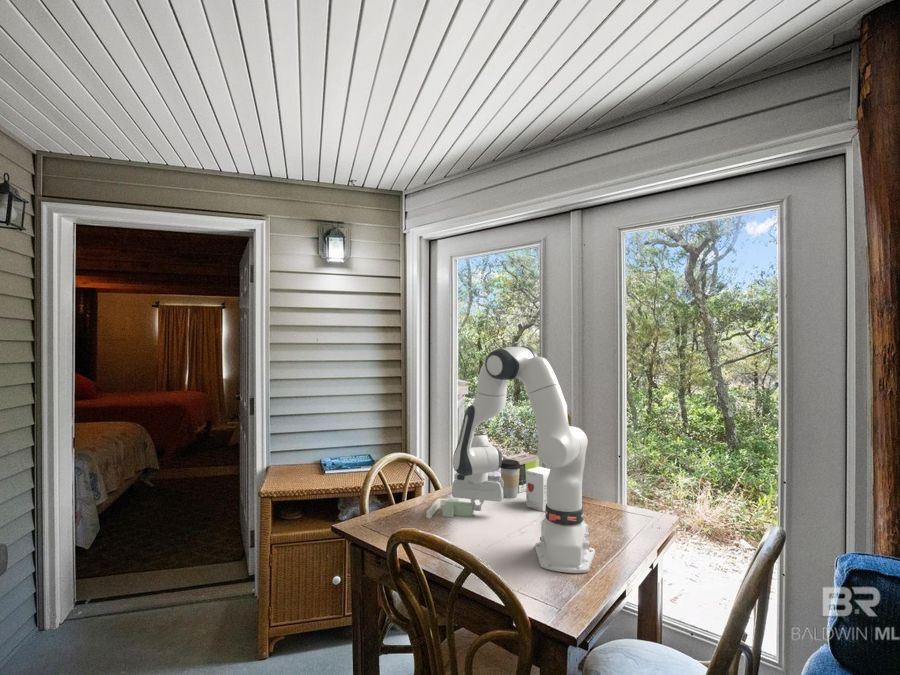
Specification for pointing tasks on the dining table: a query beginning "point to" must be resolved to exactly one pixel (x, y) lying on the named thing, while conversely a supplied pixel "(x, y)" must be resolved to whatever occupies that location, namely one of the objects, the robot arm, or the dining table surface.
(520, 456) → the tea box
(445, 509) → the t block
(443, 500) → the fence
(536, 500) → the supplement box
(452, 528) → the dining table surface
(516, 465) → the coffee cup
